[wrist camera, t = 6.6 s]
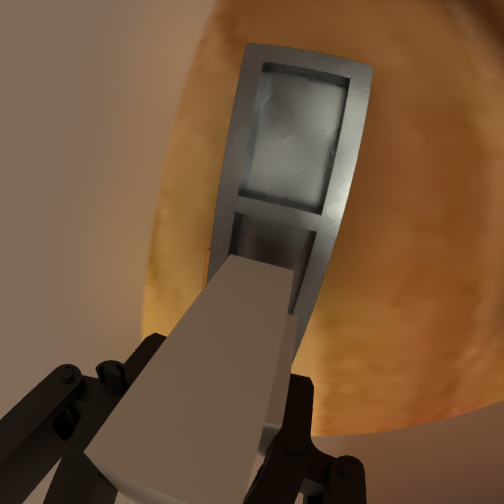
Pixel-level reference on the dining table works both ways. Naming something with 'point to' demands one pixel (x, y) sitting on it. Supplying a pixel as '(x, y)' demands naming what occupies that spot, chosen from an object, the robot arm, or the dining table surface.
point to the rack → (289, 165)
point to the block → (201, 395)
